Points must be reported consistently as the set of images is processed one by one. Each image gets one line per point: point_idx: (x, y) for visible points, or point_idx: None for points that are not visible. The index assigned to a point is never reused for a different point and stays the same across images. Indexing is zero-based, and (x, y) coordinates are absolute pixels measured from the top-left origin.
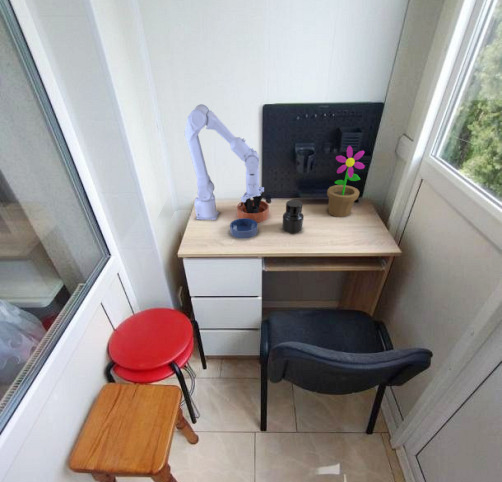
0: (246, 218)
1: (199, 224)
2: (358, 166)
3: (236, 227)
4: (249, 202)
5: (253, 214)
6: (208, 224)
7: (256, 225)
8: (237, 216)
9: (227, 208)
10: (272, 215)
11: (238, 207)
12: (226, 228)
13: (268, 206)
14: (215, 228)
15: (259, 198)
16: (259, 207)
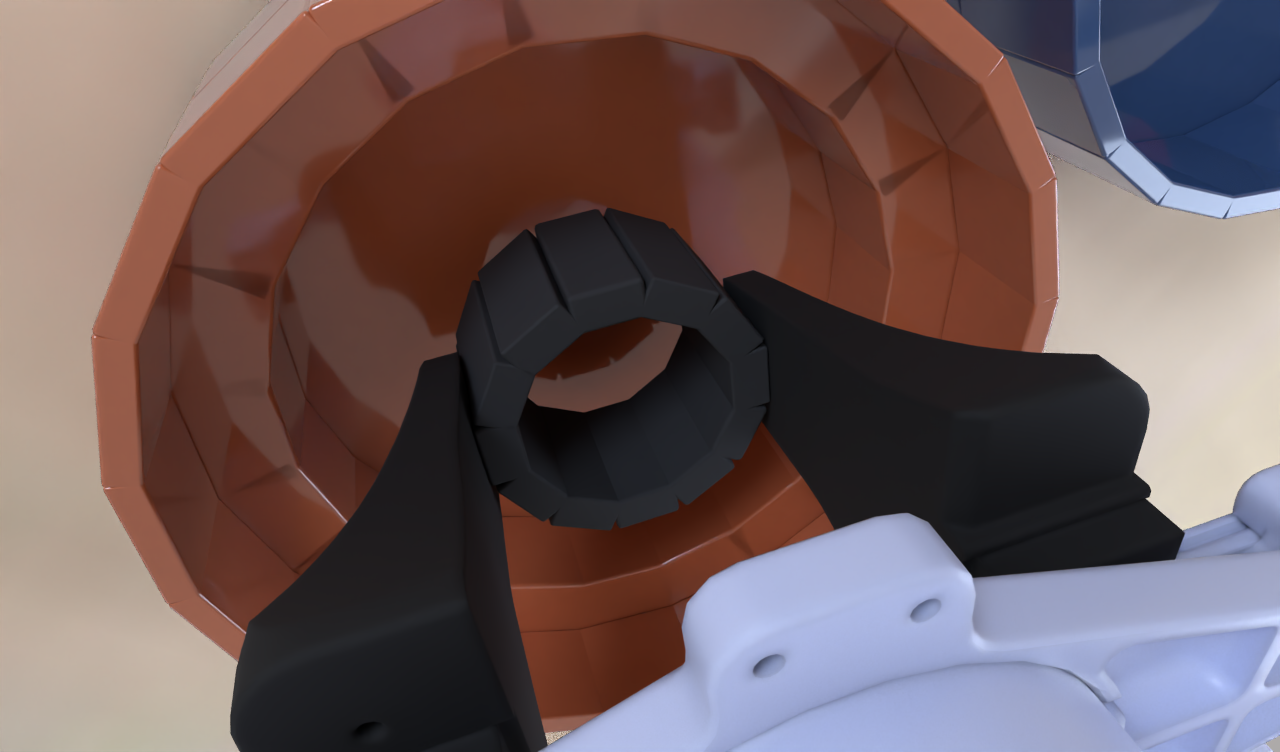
0: (1095, 96)
1: (1213, 508)
2: None
3: (1160, 106)
4: (1144, 412)
5: (991, 48)
6: (1177, 458)
7: None
8: None
9: None
10: (72, 5)
11: None
12: (1194, 222)
13: (202, 152)
14: (1244, 321)
15: (477, 570)
16: (303, 452)
